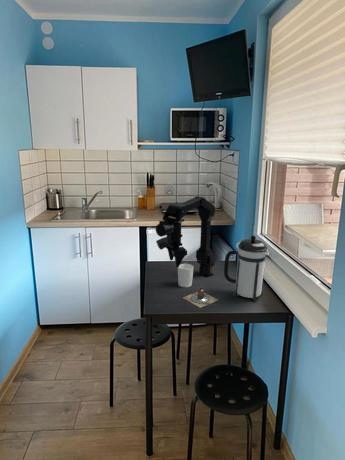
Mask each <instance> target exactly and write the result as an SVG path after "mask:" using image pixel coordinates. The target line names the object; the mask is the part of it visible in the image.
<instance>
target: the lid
mask: <svg viewBox="0 0 345 460" xmlns="http://www.w3.org/2000/svg"><path fill="white" fill-rule="evenodd" d="M197 292H198V293H196V292H195V293H196V294H193V293H192V294H193V295H191V300H192V301H193V302H196V303H208V302H209V301H210V297H209V296H208V295H209V294H208V295H206V294H207V293H206V294H204V293H205V288H203V287H202V288H201V287H200V288H199V287H198V288H197Z"/></svg>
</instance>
